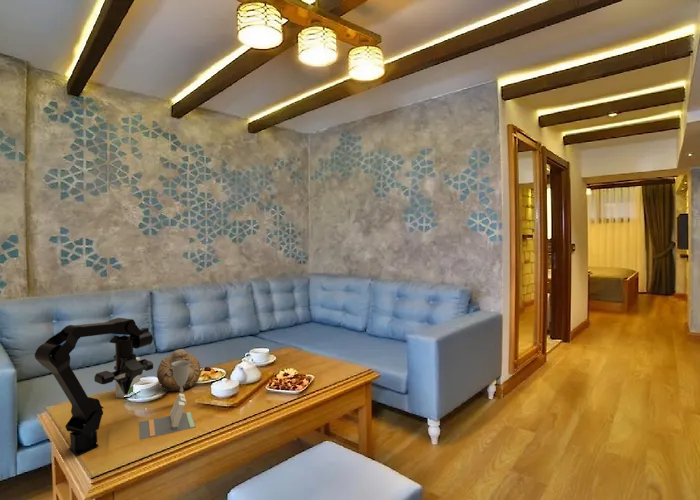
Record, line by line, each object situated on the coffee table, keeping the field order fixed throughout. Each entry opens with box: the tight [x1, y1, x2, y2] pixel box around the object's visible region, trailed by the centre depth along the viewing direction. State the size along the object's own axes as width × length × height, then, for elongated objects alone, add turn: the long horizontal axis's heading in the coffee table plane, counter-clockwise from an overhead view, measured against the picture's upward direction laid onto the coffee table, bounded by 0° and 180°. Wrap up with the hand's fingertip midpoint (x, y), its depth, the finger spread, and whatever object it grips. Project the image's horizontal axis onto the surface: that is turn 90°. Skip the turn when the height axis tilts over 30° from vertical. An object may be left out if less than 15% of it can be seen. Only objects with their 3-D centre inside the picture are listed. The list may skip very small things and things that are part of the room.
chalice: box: [172, 360, 190, 405], centre depth 163 cm, size 7×7×18 cm
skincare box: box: [114, 356, 141, 399], centre depth 175 cm, size 8×7×16 cm
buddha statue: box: [156, 348, 201, 393], centre depth 184 cm, size 20×17×17 cm
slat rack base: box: [138, 393, 196, 441], centre depth 146 cm, size 18×14×10 cm
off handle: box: [171, 401, 186, 427], centre depth 145 cm, size 2×3×8 cm, turn 30°
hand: (125, 394), depth 147 cm, fingers closed
